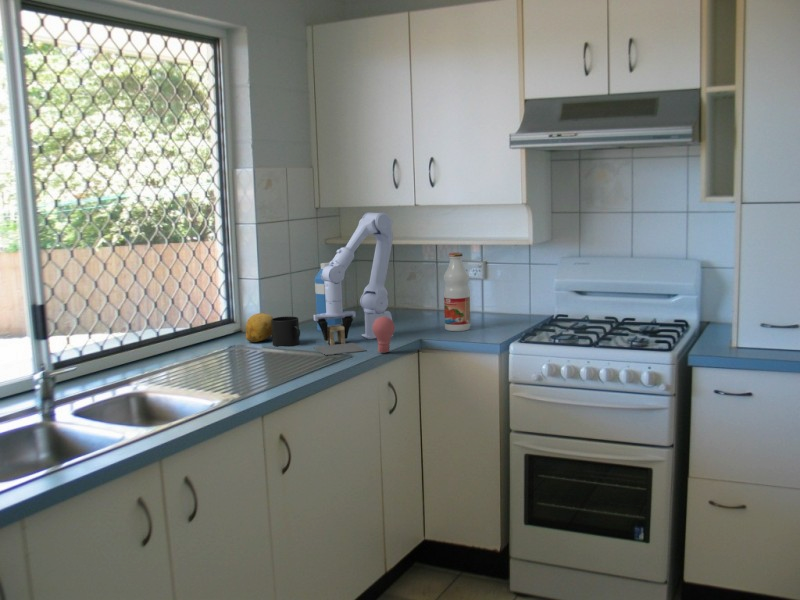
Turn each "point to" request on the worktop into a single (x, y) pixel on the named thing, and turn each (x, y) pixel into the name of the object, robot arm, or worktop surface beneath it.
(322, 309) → the water bottle
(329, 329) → the stool
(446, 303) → the fruit juice
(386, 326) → the light bulb
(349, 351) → the mat
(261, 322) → the potato
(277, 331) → the mug
